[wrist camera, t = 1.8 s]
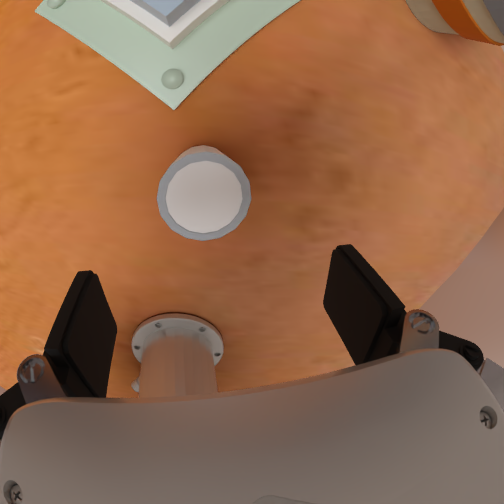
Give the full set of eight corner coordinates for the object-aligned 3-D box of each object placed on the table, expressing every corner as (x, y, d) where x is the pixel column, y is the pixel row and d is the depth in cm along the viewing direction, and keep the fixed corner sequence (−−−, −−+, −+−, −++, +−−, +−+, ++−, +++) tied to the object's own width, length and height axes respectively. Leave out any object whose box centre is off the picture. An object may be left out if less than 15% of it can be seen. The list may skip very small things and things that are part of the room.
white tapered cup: (250, 156, 26) (268, 176, 20) (218, 217, 28) (226, 253, 22) (183, 127, 23) (179, 136, 17) (154, 193, 26) (143, 223, 20)
